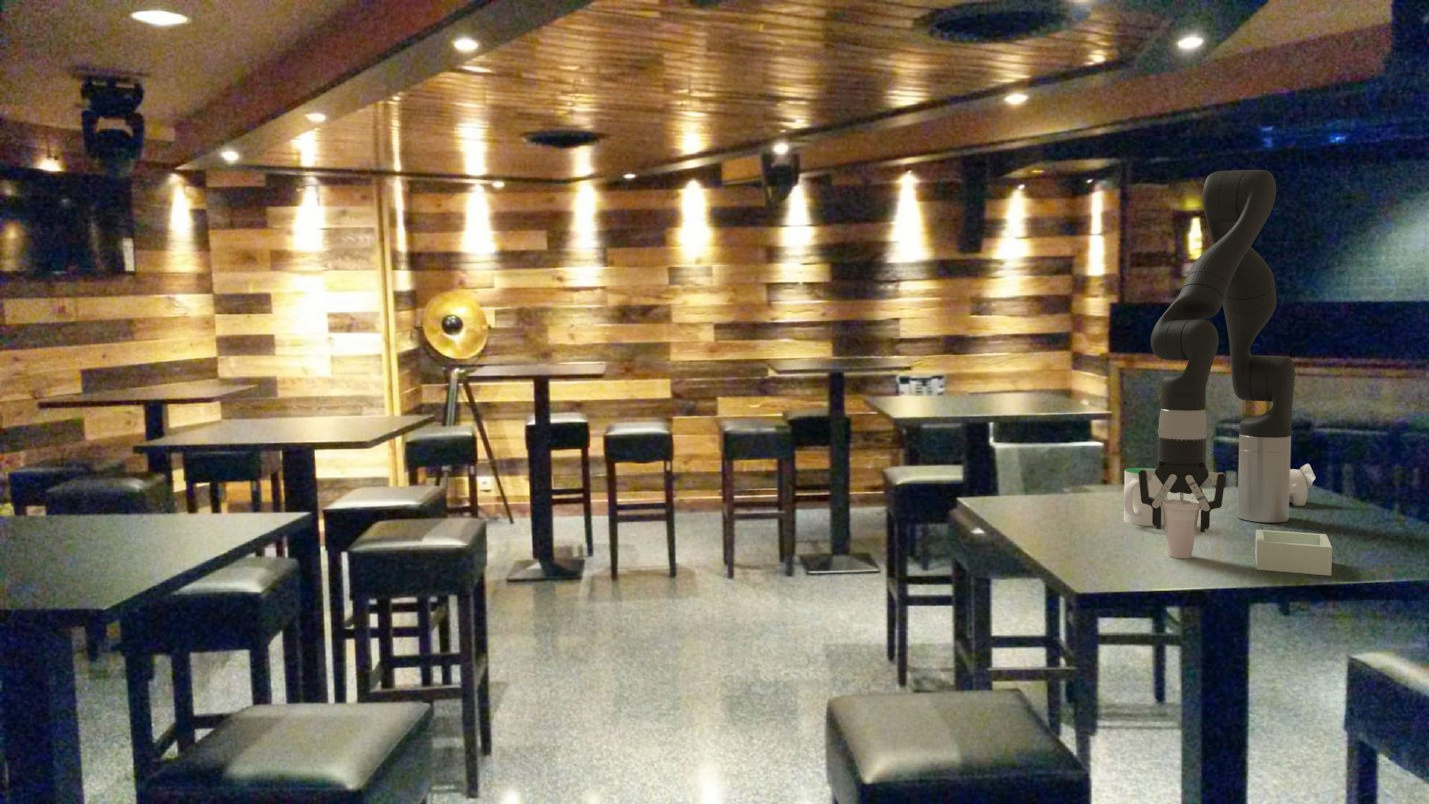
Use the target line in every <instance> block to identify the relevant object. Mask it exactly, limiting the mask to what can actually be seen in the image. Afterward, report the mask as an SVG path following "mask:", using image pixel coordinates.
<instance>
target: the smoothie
mask: <svg viewBox="0 0 1429 804" xmlns="http://www.w3.org/2000/svg"><path fill="white" fill-rule="evenodd" d="M1184 494H1185V493H1181V492H1180V493H1179V497H1178V498H1174V497H1170V498H1169V497H1168V498H1167V499H1164V500H1163V501H1162V503H1161V506H1162V507H1163V511H1164V520H1165V525H1164V528H1165V537H1166V544H1167V545H1166V547H1167V555H1168V556H1169V557H1170V558H1174V559H1182V560H1183V559H1191V558H1192V556H1193V550H1194V544H1195V537H1196V531H1197V526H1198V519H1199V513H1200V512H1199V511H1200V510H1201V509H1202V507H1201V506H1200V504H1199V502H1198V500H1197V499H1196V500H1195V499H1190V498H1184V497H1185V496H1184Z"/></svg>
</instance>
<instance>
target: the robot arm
mask: <svg viewBox="0 0 1429 804" xmlns="http://www.w3.org/2000/svg"><path fill="white" fill-rule="evenodd" d="M1274 177H1275V176H1274V175H1273V174H1272V173H1271V172H1270V171H1268V170H1264V169H1239V170H1238V169H1236V170H1220V171H1214V172H1211V173H1210V174H1209V175H1208V176H1207V178H1206V179H1205V180H1204V184H1203V190H1202V205H1203V213H1204V215H1205V219H1206V225H1207V227H1208V228H1207V229H1208V231H1209V234H1210V238H1211V242H1212V245H1211V246H1210V247H1209V248H1207V249H1206V250H1205V251H1204V252H1202V254H1201V255H1199V257H1198V258H1197V259H1196V260H1195V261H1193V263H1192V265H1191V267H1190V268H1189V271H1188V272H1187V275H1186V277H1185V279H1184V282H1183V285H1182V286H1181V290H1180V292H1179V295H1178V296H1177V297H1176V298H1175V299H1174V300H1173V302H1172V303H1171V304H1170V305H1169V306H1168V308H1167V310H1165V312H1164V313H1163V314H1162V316H1160V318H1159V319H1158V320H1157V321H1156V323H1155V325H1154V327H1153V330H1152V331H1151V335H1150V348H1151V350H1152V352H1153V354H1154V356H1156V357H1157V358H1159V359H1161V360H1165V361H1187V364H1186V367H1185V368H1184V370H1183V372H1180V373H1174V374H1168V375H1166V376H1165V377H1164V378H1163V379H1162V381H1161V386H1160V387H1161V389H1160V393H1161V394H1160V413H1159V414H1160V415H1159V421H1158V429H1157V431H1158V432H1157V434H1158V446H1157V447H1158V450H1157V452H1158V454H1157V455H1158V456H1157V460H1158V461H1157V465H1156V467H1155V468H1151V469H1148V470H1146V469H1144V468H1145V467H1142V468H1143V469H1141V470H1140V471H1139V483H1140V494H1141V502H1142V503H1143V504H1147V505H1150V506H1151V507H1152V523H1153V527H1156V530H1162V525H1161V513H1162V507H1160V504H1161V503H1162V501H1163V500H1164V498H1165V497H1166V495H1167V496H1168V493H1170V494H1180V492H1181V493H1184V494H1185V495H1191V494H1193V495H1194V497H1195V498H1196V501H1198V502H1199V504H1200V506H1201V509H1200V527H1199V528H1200V533H1205V532H1206V530H1209V528H1210V521H1211V520H1210V518H1211V517H1210V516H1211V513H1210V512H1211V511H1212V510H1216V509H1221V507H1223V506H1222V505H1223V498H1224V492H1225V483H1226V478H1227V477H1226V473H1225V472H1223V471H1220V472H1214V471H1209V470H1208V468H1207V434H1208V430H1207V428H1208V427H1207V425H1208V424H1207V416H1206V403H1207V402H1206V401H1207V400H1206V399H1207V398H1206V397H1207V396H1206V395H1207V392H1206V391H1207V385H1208V384H1207V383H1208V380H1209V376H1210V373H1211V369H1212V365H1213V363H1214V360H1215V357H1216V355H1217V352H1218V348H1219V342H1220V339H1219V333H1218V329H1217V328H1216V326H1215V325H1214V323H1213V322H1211V320H1207V319H1210V318H1213V317H1215V316H1216V315H1217V314H1218V313H1219V312H1220V310H1221V308H1222V307H1223V312H1224V319H1225V322H1226V329H1227V334H1228V342H1229V355H1230V356H1229V357H1230V368H1231V372H1230V373H1231V380H1232V381H1231V383H1232V389H1233V392H1234V394H1235V396H1236V397H1237V398H1238V400H1241V401H1246V402H1247V401H1248V402H1269V403H1270V402H1272V406H1271V408H1270V409H1268V410H1267V411H1265V412H1264V413H1262V414H1259V415H1256V416H1253V417H1248V418H1245V419H1243V420H1241V421H1240V422H1239V428H1238V429H1239V432H1238V433H1239V435H1238V436H1239V439H1238V442H1239V443H1238V478H1237V479H1238V480H1237V514H1236V515H1237V518H1239V519H1242V520H1245V521H1248V522H1255V523H1286V522H1288V521H1289V518H1290V517H1289V516H1290V502H1289V490H1290V469H1291V453H1292V450H1291V449H1292V447H1291V446H1292V421H1293V420H1292V419H1293V403H1294V392H1295V390H1294V389H1295V380H1296V379H1295V378H1296V373H1295V372H1296V368H1295V363H1294V362H1293V359H1292V358H1291V357H1289V356H1284V355H1252V354H1251V346H1252V345H1253V343H1254V341H1255V339H1256V337H1257V336H1258V334H1259V333H1261V331H1262V329H1264V327H1265V326H1266V324H1267V323H1268V322H1269V320H1270V319H1271V317H1272V316H1273V314H1274V312H1275V310H1276V306H1277V300H1278V299H1277V291H1276V285H1275V284H1276V283H1275V277H1274V274H1273V271H1272V270H1271V268H1270V266H1269V265H1268V264H1267V262H1266V261H1265V260H1264V258H1262V257H1261V255H1260V254H1259V253H1258V252H1257V251H1255V249H1254V248H1253V247H1252V246H1253V243H1254V242H1255V240H1256V238H1257V236H1258V235H1259V233H1260V232H1261V230H1262V228H1263V227H1264V225H1265V224H1266V222H1267V220H1268V218H1269V216H1270V215H1271V213H1272V210H1273V207H1274V205H1275V202H1276V201H1275V200H1276V195H1277V184H1276V179H1275V178H1274ZM1154 475H1156V476H1157V478H1158V479H1159V480H1160V482H1161V483H1162V484H1163V486H1162V487H1161V489H1160V491H1159V492H1158V494H1157V496H1156V497H1155V499H1154V498H1152V497H1149V489H1148V482H1150V481H1151V480H1152V476H1154ZM1208 479H1210V480H1211V483H1212V485H1213V486H1215V493H1214V497H1213V500H1210V501H1208V498H1207V496H1206V495H1205V492H1204V491H1203V489H1202V487H1201V486H1202V485H1203V484H1204V483H1205V482H1206V480H1208Z"/></svg>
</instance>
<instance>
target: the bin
mask: <svg viewBox="0 0 1429 804" xmlns="http://www.w3.org/2000/svg"><path fill="white" fill-rule="evenodd" d="M1254 546H1255V553H1254V557H1255V563H1256V564H1255V565H1256V570H1262V571H1270V572H1271V571H1272V572H1281V573H1283V572H1284V573H1295V574H1307V575H1308V574H1309V575H1316V576H1317V575H1318V576H1319V575H1320V576H1330V577H1331V576H1332V562H1333V561H1332V560H1333V546H1332V545H1331V542H1330V540H1329V538H1328V535H1327V534H1326V533H1325V534H1324V533H1314V532H1313V533H1312V532H1297V531H1284V530H1270V529H1269V530H1268V529H1255V545H1254Z"/></svg>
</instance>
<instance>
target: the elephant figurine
mask: <svg viewBox="0 0 1429 804" xmlns="http://www.w3.org/2000/svg"><path fill="white" fill-rule="evenodd" d="M1315 480H1316V475H1315V473H1314V470H1313V469H1312V467H1311V464H1309V463H1305V464H1304V465H1302V466H1301V467H1300V468H1299V469H1295V468H1292V469H1291V468H1290V490H1289V503H1292V504H1293V506H1298V507H1303V506H1305V505H1306V503H1307V499H1308V489H1310V488H1311V487H1312V486H1313V482H1314V481H1315Z"/></svg>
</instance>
